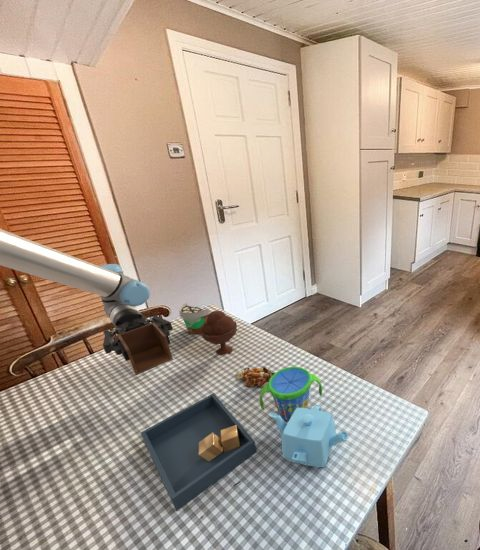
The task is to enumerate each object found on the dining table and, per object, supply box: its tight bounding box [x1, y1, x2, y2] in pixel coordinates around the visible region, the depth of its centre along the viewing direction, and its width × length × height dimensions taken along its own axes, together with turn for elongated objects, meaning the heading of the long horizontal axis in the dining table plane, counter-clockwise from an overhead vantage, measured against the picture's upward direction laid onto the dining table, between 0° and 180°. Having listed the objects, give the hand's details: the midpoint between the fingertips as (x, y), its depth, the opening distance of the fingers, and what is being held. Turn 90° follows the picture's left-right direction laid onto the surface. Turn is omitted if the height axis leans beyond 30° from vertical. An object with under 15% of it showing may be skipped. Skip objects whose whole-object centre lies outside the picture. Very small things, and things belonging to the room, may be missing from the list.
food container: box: [179, 303, 211, 336], centre depth 113 cm, size 12×6×10 cm, turn 68°
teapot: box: [269, 405, 349, 469], centre depth 66 cm, size 18×14×10 cm
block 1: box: [199, 433, 223, 462], centre depth 67 cm, size 3×3×3 cm
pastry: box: [235, 366, 276, 388], centre depth 90 cm, size 7×12×4 cm, turn 78°
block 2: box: [221, 425, 240, 452], centre depth 69 cm, size 3×3×3 cm
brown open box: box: [116, 322, 174, 376], centre depth 86 cm, size 11×9×8 cm
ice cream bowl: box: [200, 310, 238, 356], centre depth 101 cm, size 11×11×15 cm
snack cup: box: [259, 366, 323, 422], centre depth 78 cm, size 16×10×10 cm
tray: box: [140, 392, 257, 512], centre depth 69 cm, size 22×17×4 cm
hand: (147, 347), depth 82 cm, fingers closed on brown open box, 9 cm apart
